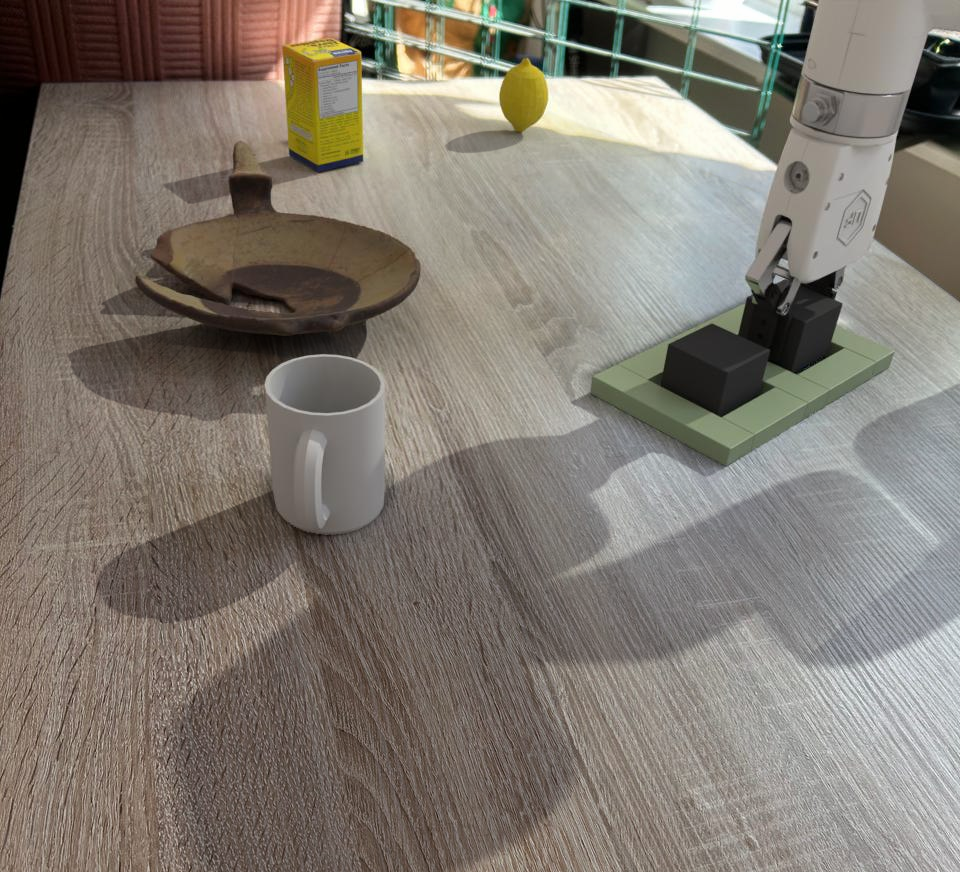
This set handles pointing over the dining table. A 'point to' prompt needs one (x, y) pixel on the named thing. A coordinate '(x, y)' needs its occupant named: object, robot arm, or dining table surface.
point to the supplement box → (323, 103)
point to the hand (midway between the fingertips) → (784, 340)
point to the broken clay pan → (280, 264)
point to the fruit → (523, 95)
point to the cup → (327, 442)
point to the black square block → (803, 327)
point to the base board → (754, 421)
